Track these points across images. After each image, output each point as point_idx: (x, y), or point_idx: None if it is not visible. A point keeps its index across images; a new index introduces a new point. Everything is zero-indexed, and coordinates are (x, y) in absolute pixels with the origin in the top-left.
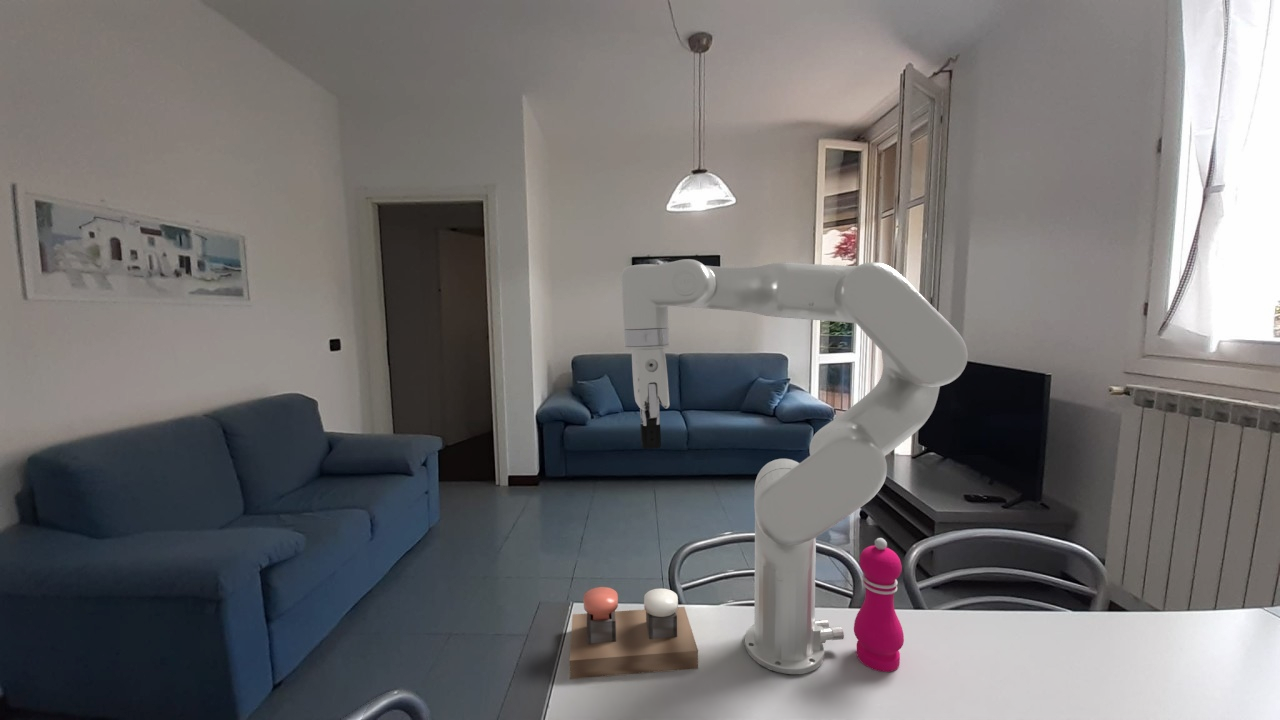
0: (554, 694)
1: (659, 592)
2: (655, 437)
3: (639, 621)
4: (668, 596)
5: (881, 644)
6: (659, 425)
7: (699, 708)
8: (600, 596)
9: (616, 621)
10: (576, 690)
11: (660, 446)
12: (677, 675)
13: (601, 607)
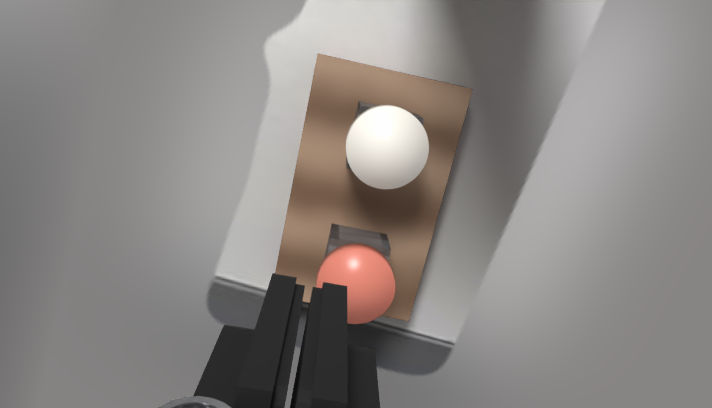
0: (429, 330)
1: (364, 144)
2: (376, 383)
3: (339, 172)
4: (390, 130)
5: None
6: (344, 404)
7: (548, 125)
8: (356, 288)
9: (323, 217)
10: (433, 299)
11: (344, 288)
12: (464, 131)
13: (394, 293)
